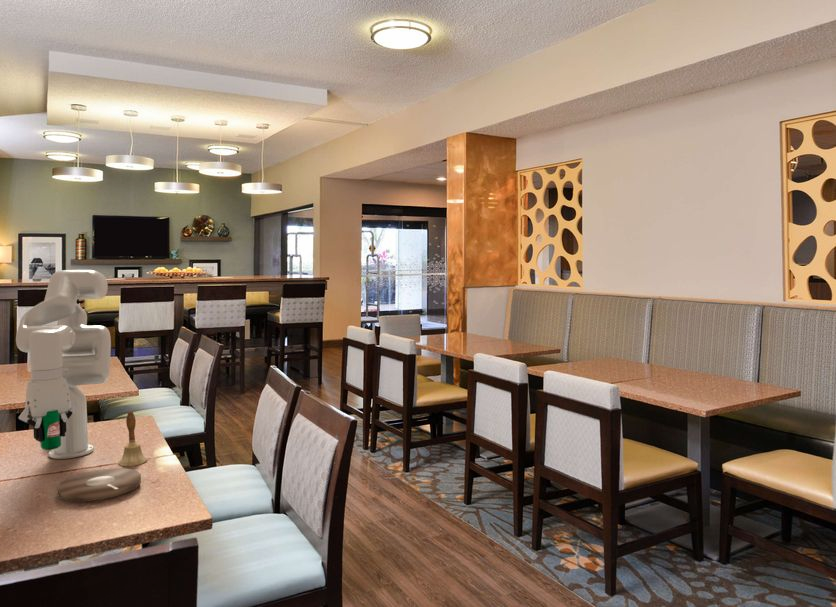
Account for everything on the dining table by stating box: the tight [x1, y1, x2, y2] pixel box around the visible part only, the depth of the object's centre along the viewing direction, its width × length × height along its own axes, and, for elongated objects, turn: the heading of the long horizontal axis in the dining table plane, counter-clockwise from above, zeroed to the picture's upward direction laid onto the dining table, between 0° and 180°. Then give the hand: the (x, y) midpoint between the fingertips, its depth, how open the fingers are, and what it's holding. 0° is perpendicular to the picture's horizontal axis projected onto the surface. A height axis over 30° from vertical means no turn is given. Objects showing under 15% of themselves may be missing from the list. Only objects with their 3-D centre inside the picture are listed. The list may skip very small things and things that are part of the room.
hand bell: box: [117, 410, 148, 467], centre depth 186 cm, size 8×8×16 cm
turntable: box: [57, 467, 142, 502], centre depth 163 cm, size 20×20×2 cm
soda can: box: [39, 409, 62, 451], centre depth 168 cm, size 5×5×12 cm
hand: (50, 437), depth 168 cm, fingers closed on soda can, 5 cm apart
